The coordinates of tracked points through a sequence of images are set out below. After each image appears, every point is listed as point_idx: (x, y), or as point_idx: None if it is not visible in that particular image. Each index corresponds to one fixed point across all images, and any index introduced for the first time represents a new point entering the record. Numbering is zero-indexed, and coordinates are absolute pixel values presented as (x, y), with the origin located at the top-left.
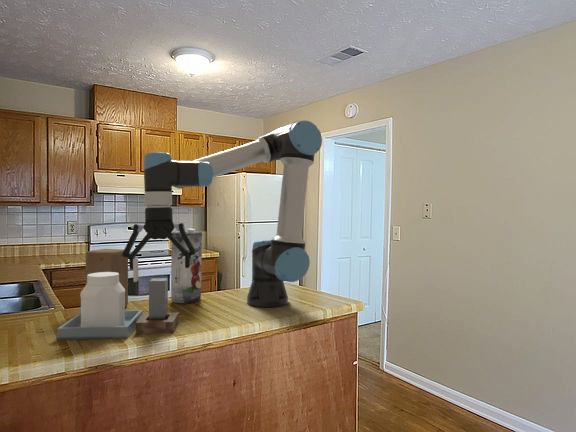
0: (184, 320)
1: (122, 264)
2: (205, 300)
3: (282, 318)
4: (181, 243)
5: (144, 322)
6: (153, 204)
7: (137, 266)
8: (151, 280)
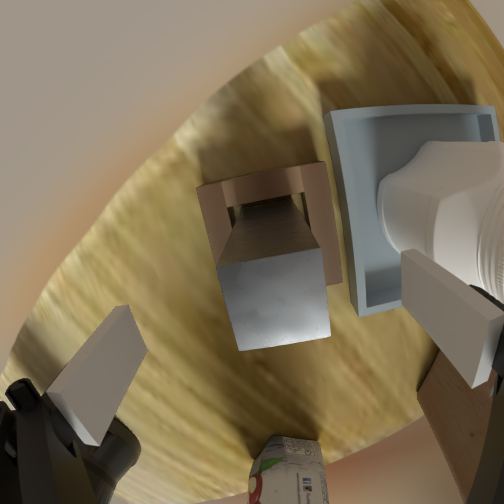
0: (219, 308)
1: (472, 462)
2: (238, 456)
3: (23, 328)
4: None
5: (295, 166)
6: None
7: (444, 332)
8: (311, 267)
